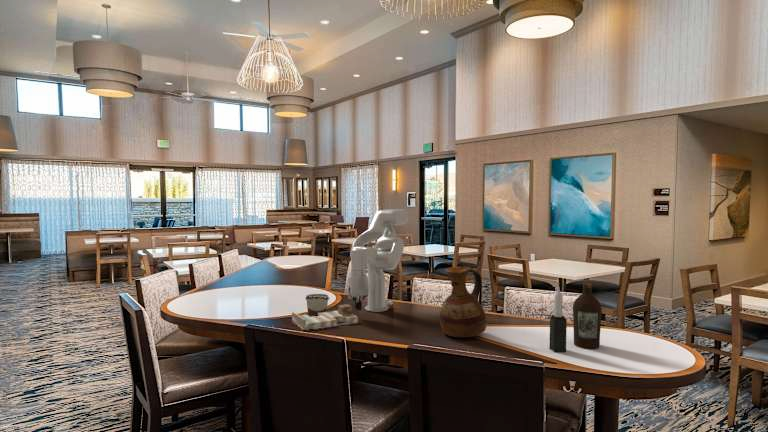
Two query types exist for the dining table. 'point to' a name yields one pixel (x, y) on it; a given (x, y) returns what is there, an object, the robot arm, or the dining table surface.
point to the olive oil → (587, 319)
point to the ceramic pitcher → (462, 306)
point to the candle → (558, 325)
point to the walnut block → (344, 309)
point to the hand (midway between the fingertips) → (358, 309)
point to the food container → (317, 303)
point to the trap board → (323, 320)
